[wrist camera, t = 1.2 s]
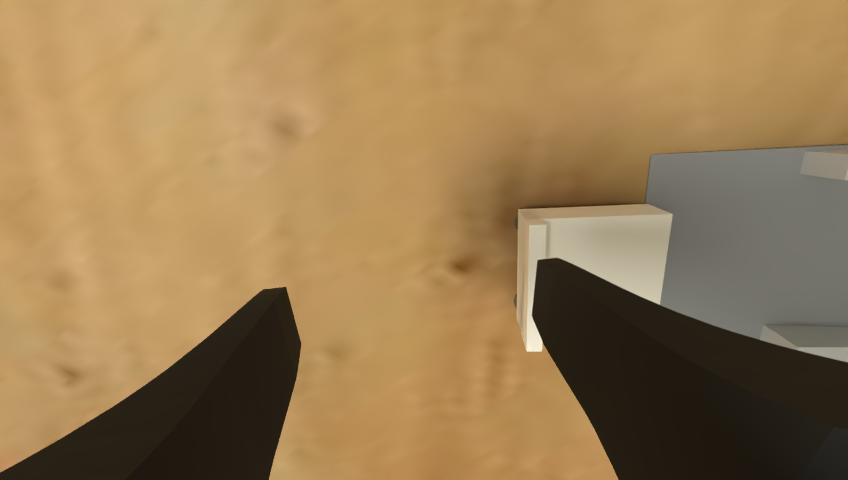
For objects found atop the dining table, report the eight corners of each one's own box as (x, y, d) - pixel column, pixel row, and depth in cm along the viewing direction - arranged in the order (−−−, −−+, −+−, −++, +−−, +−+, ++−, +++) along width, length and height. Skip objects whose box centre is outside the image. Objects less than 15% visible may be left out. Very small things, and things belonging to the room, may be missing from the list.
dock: (919, 333, 23) (1029, 382, 18) (625, 334, 25) (661, 379, 20) (996, 134, 19) (1156, 136, 15) (646, 153, 21) (694, 161, 17)
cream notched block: (626, 307, 23) (668, 351, 19) (512, 308, 24) (524, 351, 19) (639, 199, 21) (688, 219, 16) (513, 204, 22) (527, 225, 17)
